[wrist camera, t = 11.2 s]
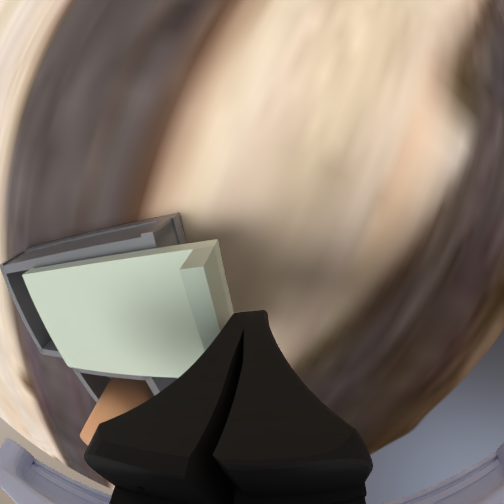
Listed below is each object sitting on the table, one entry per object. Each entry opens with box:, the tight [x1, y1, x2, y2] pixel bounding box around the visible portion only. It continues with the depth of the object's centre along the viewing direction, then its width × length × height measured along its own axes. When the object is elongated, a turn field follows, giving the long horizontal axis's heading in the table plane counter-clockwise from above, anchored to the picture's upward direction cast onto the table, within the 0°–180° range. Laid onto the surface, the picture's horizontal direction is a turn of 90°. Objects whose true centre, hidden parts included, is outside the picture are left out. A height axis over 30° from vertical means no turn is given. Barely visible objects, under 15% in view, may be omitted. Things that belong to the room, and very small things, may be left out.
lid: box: [22, 239, 234, 378], centre depth 11 cm, size 7×12×3 cm, turn 99°
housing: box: [0, 213, 186, 403], centre depth 16 cm, size 16×14×4 cm
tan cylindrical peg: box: [80, 377, 154, 445], centre depth 15 cm, size 4×4×7 cm
